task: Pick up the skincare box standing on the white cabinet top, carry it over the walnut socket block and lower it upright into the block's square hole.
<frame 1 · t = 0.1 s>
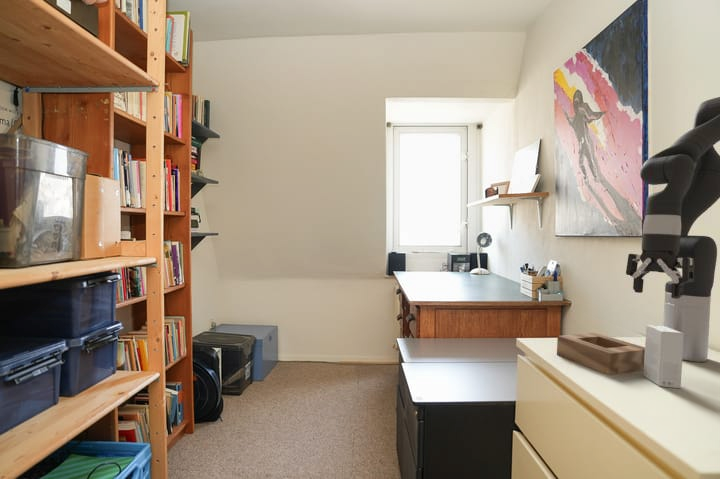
hand: (656, 295, 92), 17 cm above the dresser top, tool pointing down, fingers open, 8 cm apart
socket block: (600, 361, 90), on the dresser top
skincare box: (661, 382, 78), on the dresser top
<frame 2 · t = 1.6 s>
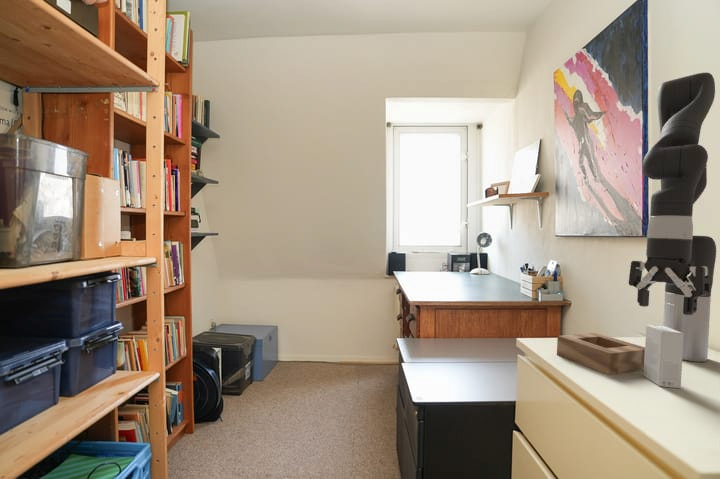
hand: (664, 310, 78), 16 cm above the dresser top, tool pointing down, fingers open, 8 cm apart
nothing on the dresser top moved.
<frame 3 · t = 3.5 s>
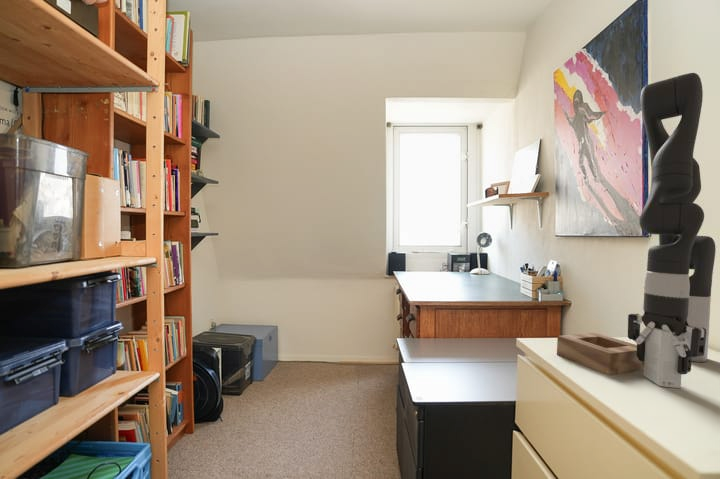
hand: (661, 366, 78), 3 cm above the dresser top, tool pointing down, fingers closed on skincare box, 7 cm apart
skincare box: (661, 382, 78), on the dresser top, touching gripper
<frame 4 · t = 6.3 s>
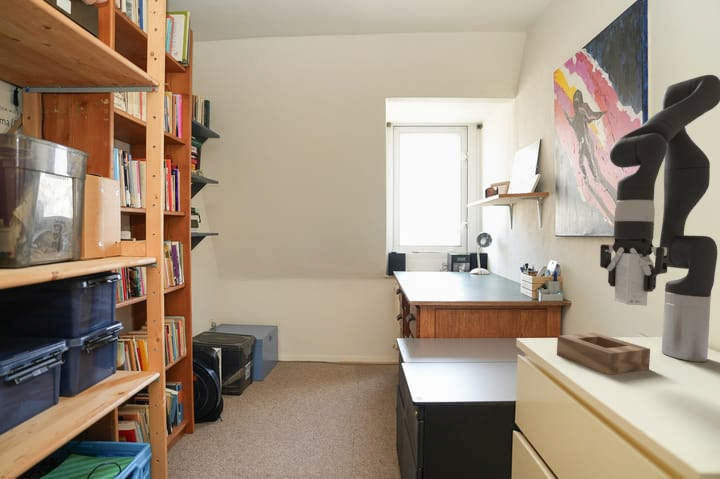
hand: (630, 288, 85), 20 cm above the dresser top, tool pointing down, fingers closed on skincare box, 7 cm apart
skincare box: (629, 303, 85), point 16 cm above the dresser top, touching gripper
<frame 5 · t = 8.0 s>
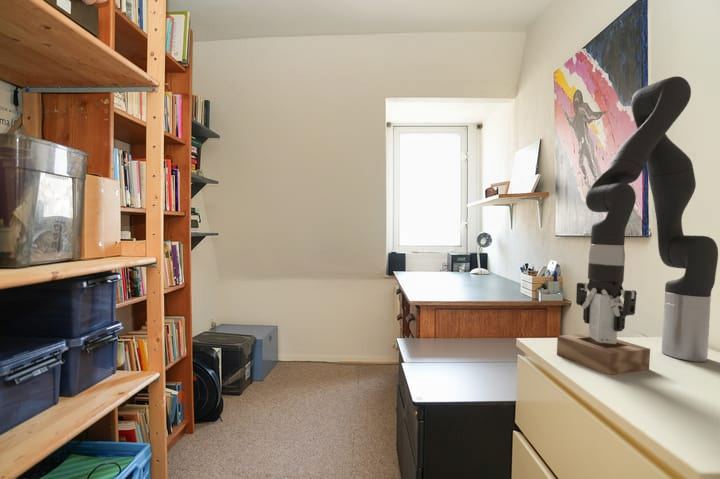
hand: (602, 326, 90), 9 cm above the dresser top, tool pointing down, fingers closed on skincare box, 7 cm apart
skincare box: (601, 340, 90), point 5 cm above the dresser top, touching gripper
when the fingers open (6 cm above the dresser top, at t = 9.2 s): skincare box drops 2 cm, resting in socket block.
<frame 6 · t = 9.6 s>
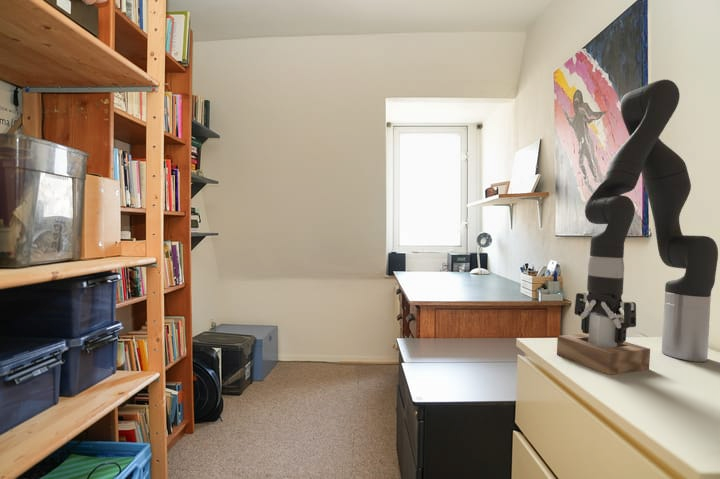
hand: (602, 337, 90), 6 cm above the dresser top, tool pointing down, fingers open, 8 cm apart
skincare box: (601, 362, 90), resting in socket block
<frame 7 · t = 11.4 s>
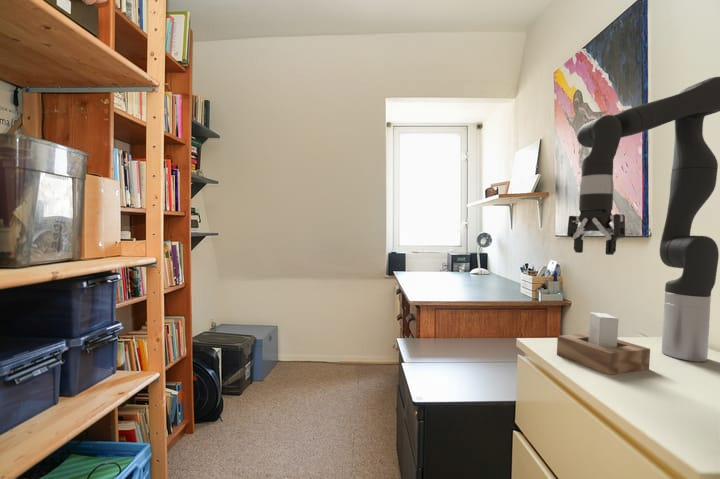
hand: (593, 253, 95), 27 cm above the dresser top, tool pointing down, fingers open, 8 cm apart
nothing on the dresser top moved.
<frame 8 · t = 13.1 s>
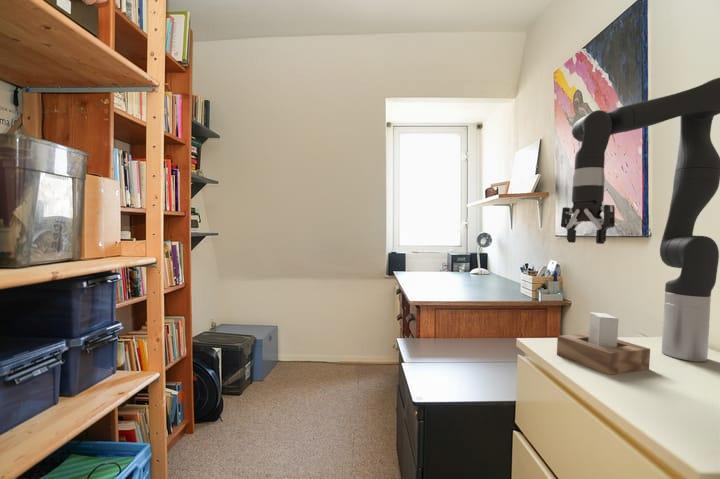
hand: (585, 243, 99), 30 cm above the dresser top, tool pointing down, fingers open, 8 cm apart
nothing on the dresser top moved.
at the end: skincare box inside the target area on the socket block (0.1 cm from its centre), point 0.0 cm above the socket block's base; skincare box tilted 0°; the gripper is holding nothing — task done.
